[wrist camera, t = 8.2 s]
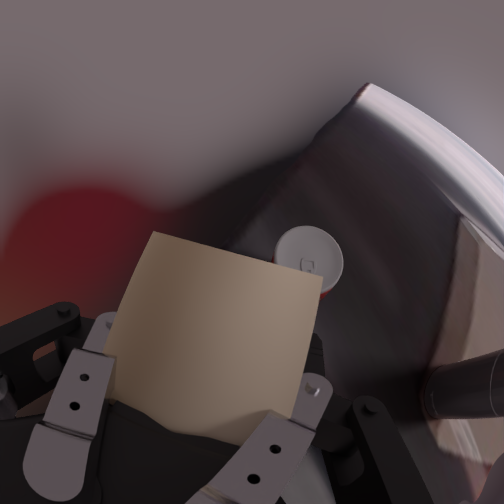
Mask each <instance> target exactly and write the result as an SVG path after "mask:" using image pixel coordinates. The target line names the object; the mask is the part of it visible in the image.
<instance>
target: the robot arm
mask: <svg viewBox="0 0 504 504" xmlns="http://www.w3.org/2000/svg"><path fill="white" fill-rule="evenodd" d="M116 314H117V312H107V313H103V314H101V315H100V316H99V317H97V319H96V320H94V319H89V318H85V317H80V310H79V307H78V306H77V305H75V304H73V303H71V302H58V303H55V304H53V305H50V306H48V307H46V308H43V309H41V310H38V311H36V312H34V313H31V314H29V315H26V316H24V317H22V318H19V319H17V320H15V321H12V322H11V323H8V324H6V325H3V326H1V327H0V504H286V503H285V502H284V500H283V499H282V498H281V496H280V495H281V494H282V492H283V490H284V489H285V487H286V486H287V484H288V482H289V481H290V479H291V478H292V476H293V474H294V472H295V471H296V469H297V467H298V466H299V464H300V462H301V460H302V458H303V457H304V455H305V453H306V451H307V449H308V447H309V446H310V444H311V445H314V446H316V447H318V448H321V451H322V455H323V458H324V462H325V465H326V469H327V472H328V476H329V479H330V483H331V487H332V490H333V494H334V497H335V501H336V504H434V503H433V501H432V498H431V496H430V494H429V492H428V490H427V488H426V485H425V483H424V481H423V479H422V477H421V475H420V473H419V471H418V469H417V467H416V465H415V463H414V461H413V459H412V457H411V455H410V453H409V451H408V449H407V447H406V445H405V443H404V441H403V439H402V437H401V435H400V433H399V431H398V429H397V427H396V426H395V424H394V422H393V420H392V418H391V416H390V414H389V412H388V410H387V409H386V407H385V405H384V404H383V403H382V402H381V401H380V400H378V399H377V398H375V397H372V396H367V395H363V396H359V397H357V398H356V399H355V400H354V401H353V402H352V401H349V400H347V399H344V398H342V397H340V396H338V395H336V394H334V393H333V388H332V385H331V383H330V382H329V381H328V380H327V379H326V378H325V370H324V358H323V351H322V350H323V348H322V341H321V339H320V338H319V336H318V335H317V334H315V333H312V337H311V341H310V346H309V350H308V354H307V358H306V362H305V366H304V370H303V374H302V378H301V382H300V386H299V390H298V393H297V397H296V401H295V404H294V408H293V411H292V415H291V418H288V417H286V416H284V415H282V414H280V413H278V412H276V411H274V410H270V412H269V413H268V414H267V415H266V417H265V418H264V419H263V420H262V422H261V423H260V424H259V426H258V427H257V428H256V429H255V431H254V432H253V433H252V434H251V435H250V437H249V438H248V439H247V440H246V442H245V443H244V444H243V445H242V446H241V448H240V446H238V445H234V444H230V443H227V442H223V441H220V440H216V439H213V438H210V437H204V436H196V435H188V434H181V433H175V432H172V431H170V430H168V429H166V428H165V427H163V426H162V425H160V424H159V423H158V422H156V421H155V420H153V419H152V418H150V417H149V416H148V415H146V414H145V413H143V412H141V411H139V410H137V409H134V408H132V407H130V406H128V405H126V404H124V403H122V402H120V401H118V400H117V401H116V402H115V403H114V405H112V404H110V403H109V401H110V397H111V394H112V391H113V390H115V378H116V365H117V356H115V355H110V354H105V353H102V352H103V349H104V346H105V343H106V340H107V338H108V335H109V332H110V329H111V327H112V324H113V322H114V319H115V316H116ZM52 341H54V342H55V346H56V350H54V351H52V352H51V353H48V354H47V355H45V356H43V357H41V358H39V359H37V360H35V361H33V353H34V352H35V351H36V350H37V349H39V348H40V347H43V346H44V345H47V344H48V343H50V342H52ZM54 388H55V390H54V392H53V395H52V398H51V400H50V402H49V405H48V408H47V410H46V413H43V414H38V415H32V416H26V417H19V418H16V416H15V415H16V413H17V411H18V410H19V409H21V408H23V407H24V406H26V405H27V404H29V403H31V402H33V401H34V400H36V399H37V398H39V397H41V396H42V395H44V394H46V393H47V392H49V391H50V390H52V389H54ZM424 400H425V406H426V409H427V411H428V413H429V414H430V415H431V416H432V417H434V418H436V419H482V418H497V417H504V349H501V350H498V351H495V352H492V353H489V354H485V355H482V356H479V357H475V358H472V359H468V360H464V361H460V362H456V363H452V364H448V365H444V366H441V367H439V368H437V369H436V370H435V371H434V372H433V373H432V375H431V376H430V378H429V380H428V382H427V385H426V389H425V398H424ZM239 448H240V449H239Z"/></svg>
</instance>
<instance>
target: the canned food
mask: <svg viewBox="0 0 504 504" xmlns="http://www.w3.org/2000/svg"><path fill="white" fill-rule="evenodd" d="M271 263H273V264H277V265H281V266H284V267H288V268H292V269H296V270H299V271H303V272H307V273H311V274H314V275H318V276H322V277H323V282H322V287H321V293H320V298H319V302H320V301H321V300H322V299H323V298H324V296H325V295H326V294H327V293H328V292H329V291H330V290H331V289H332V288H333V286H334V285H335V284H336V283H337V281H338V280H339V278H340V276H341V273H342V270H343V256H342V252H341V249H340V247H339V246H338V244H337V242H336V241H335V240H334V239H333V238H332V237H331V236H330V235H329V234H328V233H326V232H325V231H323V230H321V229H319V228H316V227H312V226H299V227H295V228H292V229H291V230H289V231H287V232H286V233H285V234H284V235H283V236H282V237H281V238H280V240H279V241H278V243H277V245H276V248H275V251H274V254H273V257H272V261H271Z"/></svg>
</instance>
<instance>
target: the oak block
mask: <svg viewBox="0 0 504 504" xmlns="http://www.w3.org/2000/svg"><path fill="white" fill-rule="evenodd" d="M322 282H323V277H322V276H318V275H314V274H311V273H307V272H303V271H299V270H296V269H292V268H288V267H284V266H281V265H277V264H273V263H269V262H266V261H262V260H258V259H254V258H251V257H247V256H243V255H239V254H236V253H232V252H228V251H225V250H221V249H217V248H213V247H210V246H206V245H202V244H199V243H195V242H191V241H188V240H184V239H180V238H177V237H172V236H169V235H166V234H162V233H158V232H155V231H154V232H153V234H152V235H151V238H150V240H149V242H148V244H147V246H146V248H145V250H144V252H143V254H142V256H141V258H140V260H139V263H138V265H137V267H136V269H135V272H134V274H133V276H132V278H131V280H130V283H129V285H128V287H127V290H126V292H125V295H124V297H123V299H122V302H121V304H120V306H119V309H118V312H117V314H116V316H115V319H114V322H113V324H112V327H111V329H110V332H109V335H108V338H107V340H106V343H105V346H104V349H103V352H102V353H105V354H110V355H115V356H117V365H116V378H115V390H113V391H112V394H111V397H110V401H109V403H110V404H112V405H114V403H115V402H116V401H117V400H118V401H120V402H122V403H124V404H126V405H128V406H130V407H132V408H134V409H137V410H139V411H141V412H143V413H145V414H146V415H148V416H149V417H150V418H152V419H153V420H155V421H156V422H158V423H159V424H160V425H162V426H163V427H165V428H166V429H168V430H170V431H172V432H175V433H181V434H188V435H196V436H204V437H210V438H213V439H216V440H220V441H223V442H227V443H230V444H234V445H238V446H240V448H241V446H242V445H243V444H244V443H245V442H246V440H247V439H248V438H249V437H250V435H251V434H252V433H253V432H254V431H255V429H256V428H257V427H258V426H259V424H260V423H261V422H262V420H263V419H264V418H265V417H266V415H267V414H268V413H269V412H270V410H274V411H276V412H278V413H280V414H282V415H284V416H286V417H288V418H291V415H292V411H293V408H294V404H295V401H296V397H297V393H298V390H299V386H300V382H301V378H302V374H303V370H304V366H305V362H306V358H307V354H308V350H309V346H310V341H311V337H312V332H313V328H314V323H315V318H316V313H317V308H318V303H319V298H320V293H321V287H322ZM240 448H239V449H240Z"/></svg>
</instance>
